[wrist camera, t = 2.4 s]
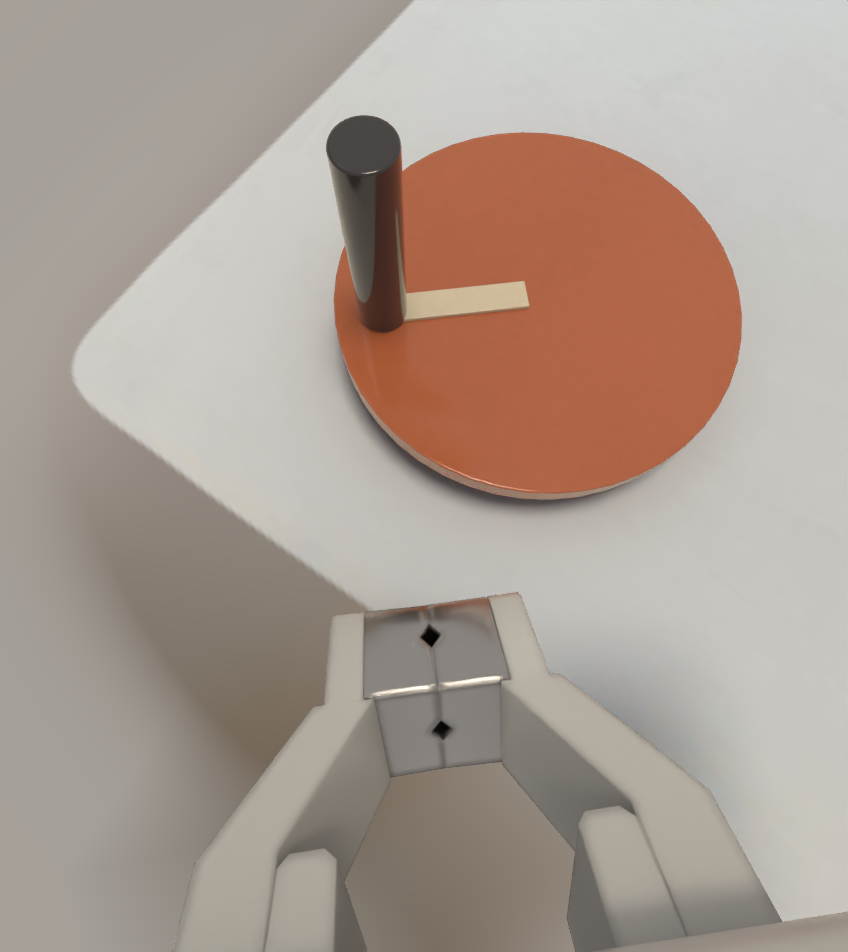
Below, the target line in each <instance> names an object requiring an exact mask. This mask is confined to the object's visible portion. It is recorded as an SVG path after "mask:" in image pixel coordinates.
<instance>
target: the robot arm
mask: <svg viewBox="0 0 848 952" xmlns="http://www.w3.org/2000/svg"><path fill="white" fill-rule="evenodd" d="M494 762H502V764H503V766H504V767H505V768H506V769H507V771H508V772H509V773H510V774H511V776H512V777H513V778H514V779H515V780H516V781H517V783H518V784H519V785H520V786H521V788H522V789H523V790H524V791H525V792H526V793H527V794H528V796H529V797H530V798H531V799H532V801H533V802H534V803H535V804H536V805H537V807H538V808H539V809H540V810H541V811H542V813H543V814H544V815H545V816H546V817H547V819H548V820H549V821H550V822H551V823H552V825H553V826H554V827H555V828H556V829H557V831H558V832H559V833H560V834H561V835H562V837H563V838H564V839H565V840H566V841H567V843H568V844H569V845H570V846H571V847H572V848H573V850H574V851H575V857H574V866H573V873H572V881H571V890H570V897H569V905H568V913H567V921H568V925H569V929H570V933H571V936H572V940H573V944H574V948H575V952H848V912H843V913H837V914H830V915H824V916H817V917H811V918H804V919H798V920H792V921H785V922H782V921H781V919H780V917H779V915H778V913H777V911H776V910H775V908H774V906H773V904H772V902H771V900H770V899H769V897H768V895H767V893H766V891H765V890H764V888H763V886H762V884H761V882H760V880H759V879H758V877H757V875H756V873H755V871H754V870H753V868H752V866H751V864H750V862H749V861H748V859H747V857H746V855H745V853H744V851H743V850H742V848H741V846H740V844H739V842H738V841H737V839H736V837H735V835H734V833H733V831H732V830H731V828H730V826H729V824H728V822H727V821H726V819H725V817H724V815H723V813H722V812H721V810H720V808H719V806H718V804H717V802H716V801H715V799H714V797H713V795H712V793H711V792H710V790H709V789H708V788H706V787H705V786H704V785H702V784H701V783H700V782H699V781H697V780H696V779H695V778H693V777H692V776H691V775H690V774H688V773H687V772H686V771H684V770H683V769H682V768H681V767H679V766H678V765H677V764H675V763H674V762H673V761H672V760H670V759H669V758H668V757H666V756H665V755H664V754H663V753H661V752H660V751H659V750H657V749H656V748H655V747H654V746H652V745H651V744H650V743H649V742H647V741H646V740H645V739H643V738H642V737H641V736H640V735H638V734H637V733H636V732H634V731H633V730H632V729H631V728H629V727H628V726H627V725H625V724H624V723H623V722H622V721H620V720H619V719H618V718H616V717H615V716H614V715H613V714H611V713H610V712H609V711H607V710H606V709H605V708H604V707H602V706H601V705H600V704H598V703H597V702H596V701H595V700H593V699H592V698H591V697H589V696H588V695H587V694H586V693H584V692H583V691H582V690H580V689H579V688H578V687H577V686H575V685H574V684H573V683H572V682H570V681H569V680H568V679H566V678H565V677H564V676H563V675H561V674H550V673H549V670H548V668H547V665H546V662H545V659H544V657H543V654H542V651H541V648H540V646H539V643H538V640H537V638H536V635H535V632H534V629H533V627H532V624H531V621H530V618H529V616H528V613H527V610H526V607H525V605H524V602H523V599H522V597H521V595H520V594H519V593H518V592H515V593H508V594H501V595H494V596H487V598H486V597H481V598H474V599H466V600H459V601H452V602H445V603H438V604H430V605H426V606H417V607H407V608H397V609H388V610H378V611H369V612H365V613H357V614H347V615H337V616H333V618H332V621H331V624H330V635H329V646H328V659H327V670H326V683H325V694H324V705H322V706H315V707H313V708H312V709H311V711H310V712H309V714H308V715H307V716H306V718H305V719H304V720H303V721H302V723H301V724H300V725H299V727H298V728H297V729H296V731H295V732H294V733H293V734H292V736H291V737H290V739H289V740H288V741H287V742H286V744H285V745H284V746H283V748H282V749H281V750H280V752H279V753H278V754H277V755H276V757H275V758H274V759H273V761H272V762H271V763H270V765H269V766H268V767H267V769H266V770H265V771H264V773H263V774H262V775H261V777H260V778H259V779H258V781H257V782H256V783H255V784H254V786H253V787H252V788H251V790H250V791H249V792H248V794H247V795H246V796H245V798H244V799H243V800H242V802H241V803H240V804H239V806H238V807H237V808H236V810H235V811H234V812H233V814H232V815H231V816H230V817H229V819H228V820H227V821H226V823H225V824H224V825H223V827H222V828H221V829H220V831H219V832H218V833H217V835H216V836H215V837H214V839H213V840H212V841H211V842H210V844H209V845H208V846H207V848H206V849H205V850H204V852H203V853H202V854H201V856H200V857H199V858H198V860H197V861H196V862H195V864H194V868H193V872H192V875H191V879H190V884H189V887H188V892H187V895H186V899H185V903H184V907H183V911H182V915H181V919H180V923H179V927H178V930H177V934H176V939H175V942H174V946H173V950H172V952H367V948H366V945H365V942H364V939H363V937H362V933H361V930H360V927H359V924H358V922H357V918H356V915H355V913H354V909H353V907H352V904H351V901H350V898H349V895H348V892H347V889H346V886H345V883H344V881H345V878H346V876H347V874H348V872H349V870H350V868H351V866H352V863H353V861H354V859H355V857H356V855H357V853H358V851H359V849H360V846H361V844H362V842H363V840H364V838H365V836H366V834H367V831H368V829H369V827H370V825H371V823H372V821H373V819H374V816H375V814H376V812H377V810H378V807H379V806H380V803H381V801H382V799H383V797H384V795H385V793H386V791H387V788H388V787H389V784H390V782H391V779H390V777H396V776H401V775H407V774H414V773H419V772H425V771H431V770H437V769H443V768H450V767H459V766H468V765H477V764H486V763H494Z"/></svg>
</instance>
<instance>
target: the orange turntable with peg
mask: <svg viewBox="0 0 848 952" xmlns="http://www.w3.org/2000/svg"><path fill="white" fill-rule="evenodd" d="M326 152H327V157H328V162H329V167H330V172H331V177H332V182H333V187H334V192H335V197H336V202H337V207H338V212H339V217H340V222H341V227H342V232H343V238H344V243H345V247H344V249H343V251H342V254H341V258H340V262H339V266H338V270H337V274H336V281H335V293H334V311H335V325H336V330H337V335H338V339H339V344H340V348H341V352H342V355H343V359H344V362H345V364H346V367H347V370H348V373H349V375H350V378H351V381H352V383H353V385H354V387H355V389H356V391H357V392H358V394H359V396H360V398H361V400H362V402H363V404H364V405H365V407H366V408H367V409H368V411H369V412H370V413H371V415H372V416H373V417H374V419H375V420H376V422H377V423H378V424H379V426H380V427H381V428H382V429H383V430H384V431H385V432H386V433H387V434H388V435H389V436H390V437H391V438H392V439H393V440H394V441H395V442H396V443H397V444H398V445H399V446H400V447H402V448H403V449H404V450H406V451H407V452H408V453H409V454H411V455H412V456H413V457H414V458H416V459H417V460H418V461H420V462H421V463H423V464H425V465H426V466H428V467H430V468H431V469H433V470H435V471H436V472H438V473H440V474H441V475H443V476H445V477H448V478H450V479H452V480H455V481H457V482H459V483H461V484H464V485H466V486H469V487H472V488H475V489H479V490H482V491H485V492H489V493H492V494H496V495H502V496H508V497H515V498H521V499H543V500H553V499H563V498H574V497H581V496H585V495H589V494H594V493H598V492H603V491H606V490H609V489H611V488H614V487H617V486H619V485H622V484H625V483H627V482H630V481H632V480H633V479H635V478H637V477H639V476H641V475H643V474H644V473H646V472H648V471H650V470H652V469H653V468H655V467H657V466H658V465H660V464H661V463H663V462H665V461H666V460H667V459H669V458H670V457H671V456H673V455H674V454H675V453H677V452H678V451H679V450H681V449H682V448H683V447H685V446H686V445H687V444H688V443H689V442H690V441H691V440H692V439H693V438H694V437H695V436H696V435H697V434H698V433H699V432H700V431H701V430H702V429H703V428H704V426H705V425H706V423H707V422H708V421H709V419H710V418H711V417H712V415H713V414H714V412H715V411H716V410H717V408H718V407H719V405H720V403H721V401H722V399H723V397H724V395H725V393H726V391H727V389H728V387H729V385H730V382H731V379H732V376H733V373H734V370H735V367H736V364H737V361H738V355H739V349H740V343H741V325H742V313H741V306H740V298H739V291H738V287H737V284H736V280H735V277H734V273H733V270H732V267H731V264H730V262H729V260H728V258H727V255H726V253H725V251H724V248H723V246H722V244H721V243H720V241H719V239H718V238H717V236H716V234H715V233H714V231H713V230H712V228H711V226H710V225H709V224H708V222H707V221H706V220H705V218H704V217H703V216H702V215H701V213H700V212H699V211H698V210H697V208H696V207H695V206H694V205H693V204H692V203H691V202H690V201H689V200H688V199H687V198H686V197H685V196H684V195H683V194H682V193H681V192H680V191H679V190H678V189H677V188H675V187H674V186H673V185H672V184H670V183H669V182H668V181H667V180H665V179H664V178H663V177H662V176H660V175H659V174H657V173H656V172H654V171H653V170H651V169H650V168H648V167H646V166H645V165H643V164H642V163H640V162H638V161H636V160H634V159H632V158H630V157H628V156H626V155H624V154H622V153H620V152H618V151H615V150H613V149H610V148H607V147H604V146H602V145H599V144H596V143H593V142H589V141H585V140H581V139H577V138H573V137H568V136H561V135H554V134H547V133H524V132H521V133H506V134H495V135H490V136H484V137H479V138H474V139H470V140H467V141H463V142H460V143H457V144H453V145H450V146H448V147H446V148H443V149H441V150H439V151H436V152H434V153H432V154H429V155H428V156H426V157H424V158H422V159H421V160H419V161H417V162H415V163H414V164H412V165H410V166H409V167H408V168H406V169H405V170H404V171H402V155H401V141H400V138H399V135H398V133H397V132H396V130H395V129H394V128H393V127H392V126H391V125H390V124H389V123H388V122H386V121H384V120H383V119H380V118H378V117H374V116H366V115H362V116H354V117H351V118H348V119H345V120H344V121H342V122H340V123H339V124H337V125H336V126H335V127H334V128H333V130H332V131H331V133H330V134H329V137H328V139H327V143H326Z"/></svg>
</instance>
